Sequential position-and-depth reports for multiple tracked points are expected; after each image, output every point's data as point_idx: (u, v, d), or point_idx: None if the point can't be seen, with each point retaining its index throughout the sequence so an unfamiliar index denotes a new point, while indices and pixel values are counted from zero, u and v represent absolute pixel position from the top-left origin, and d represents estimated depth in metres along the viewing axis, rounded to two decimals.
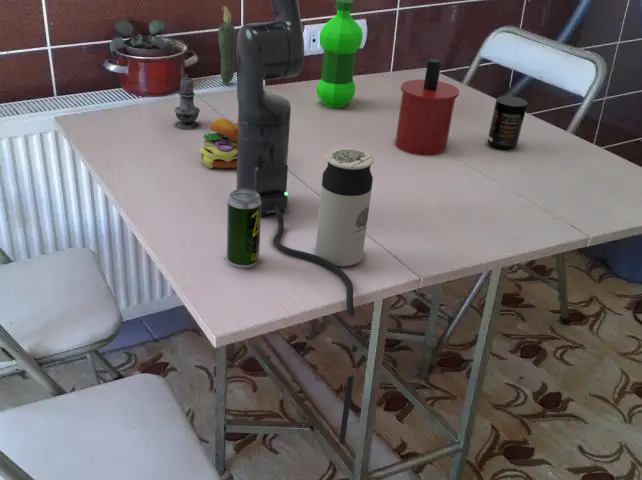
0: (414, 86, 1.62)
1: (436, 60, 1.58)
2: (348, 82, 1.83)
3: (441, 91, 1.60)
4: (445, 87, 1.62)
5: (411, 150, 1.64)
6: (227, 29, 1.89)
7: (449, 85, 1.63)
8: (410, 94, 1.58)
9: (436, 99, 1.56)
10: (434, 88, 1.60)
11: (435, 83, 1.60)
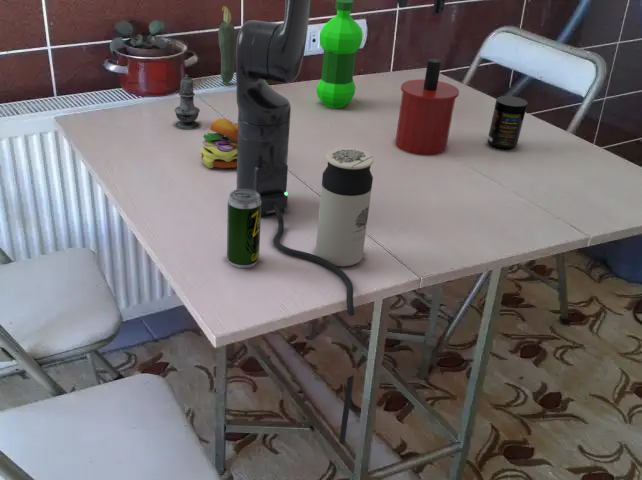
0: (414, 86, 1.62)
1: (436, 60, 1.58)
2: (348, 82, 1.83)
3: (441, 91, 1.60)
4: (445, 87, 1.62)
5: (411, 150, 1.64)
6: (227, 29, 1.89)
7: (449, 85, 1.63)
8: (410, 94, 1.58)
9: (436, 99, 1.56)
10: (434, 88, 1.60)
11: (435, 83, 1.60)
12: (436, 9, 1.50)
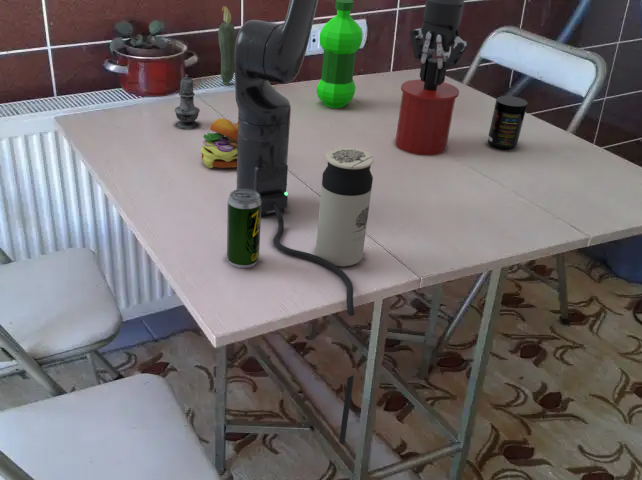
0: (414, 86, 1.62)
1: (436, 60, 1.58)
2: (348, 82, 1.83)
3: (441, 91, 1.60)
4: (445, 87, 1.62)
5: (411, 150, 1.64)
6: (227, 29, 1.89)
7: (449, 85, 1.63)
8: (410, 94, 1.58)
9: (436, 99, 1.56)
10: (434, 88, 1.60)
11: None
12: (437, 80, 1.58)
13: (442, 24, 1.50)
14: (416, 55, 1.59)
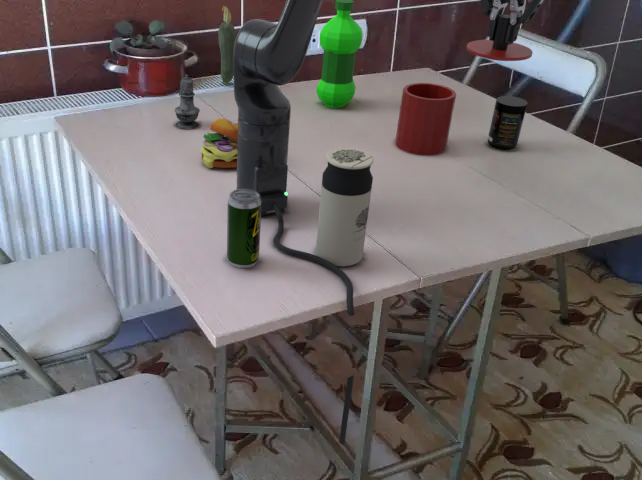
0: (481, 46, 1.45)
1: (508, 16, 1.41)
2: (348, 82, 1.83)
3: (513, 51, 1.43)
4: (515, 47, 1.45)
5: (411, 150, 1.64)
6: (227, 29, 1.89)
7: (519, 45, 1.47)
8: (479, 54, 1.41)
9: (509, 59, 1.40)
10: (505, 48, 1.43)
11: None
12: (509, 38, 1.41)
13: None
14: (485, 11, 1.43)
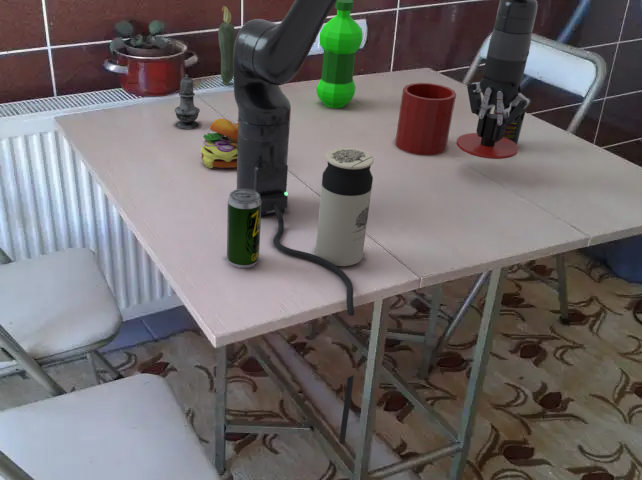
0: (470, 141, 1.55)
1: (495, 116, 1.51)
2: (348, 82, 1.83)
3: (500, 147, 1.52)
4: (503, 143, 1.55)
5: (411, 150, 1.64)
6: (227, 29, 1.89)
7: (507, 140, 1.56)
8: (468, 151, 1.51)
9: (496, 157, 1.49)
10: (492, 144, 1.53)
11: None
12: (496, 136, 1.51)
13: (504, 81, 1.43)
14: (473, 110, 1.52)
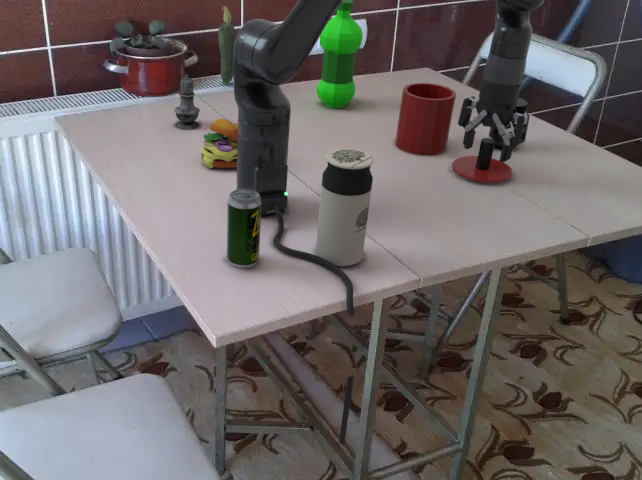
0: (466, 165, 1.57)
1: (490, 140, 1.53)
2: (348, 82, 1.83)
3: (494, 171, 1.55)
4: (497, 166, 1.57)
5: (411, 150, 1.64)
6: (227, 29, 1.89)
7: (501, 163, 1.59)
8: (463, 175, 1.54)
9: (490, 181, 1.52)
10: (487, 168, 1.55)
11: (488, 163, 1.55)
12: (503, 156, 1.51)
13: (500, 104, 1.45)
14: (460, 123, 1.55)
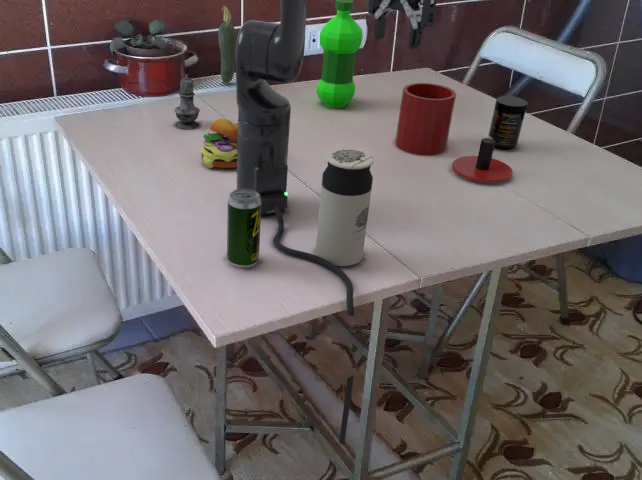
0: (466, 165, 1.57)
1: (490, 140, 1.53)
2: (348, 82, 1.83)
3: (494, 171, 1.55)
4: (497, 166, 1.57)
5: (411, 150, 1.64)
6: (227, 29, 1.89)
7: (501, 163, 1.59)
8: (463, 175, 1.54)
9: (490, 181, 1.52)
10: (487, 168, 1.55)
11: (488, 163, 1.55)
12: (412, 42, 1.42)
13: None
14: (369, 10, 1.46)
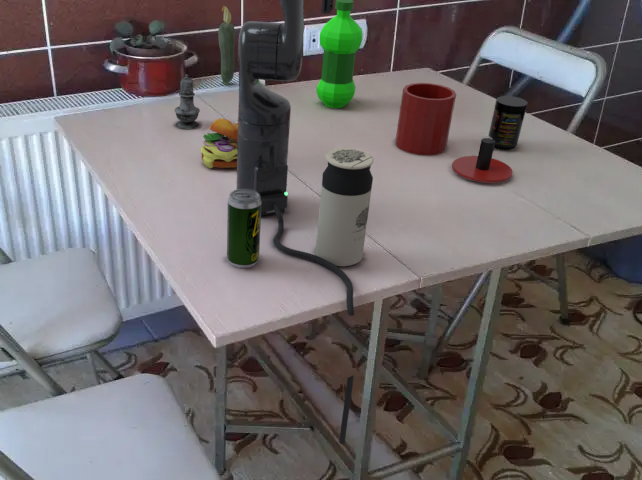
0: (466, 165, 1.57)
1: (490, 140, 1.53)
2: (348, 82, 1.83)
3: (494, 171, 1.55)
4: (497, 166, 1.57)
5: (411, 150, 1.64)
6: (227, 29, 1.89)
7: (501, 163, 1.59)
8: (463, 175, 1.54)
9: (490, 181, 1.52)
10: (487, 168, 1.55)
11: (488, 163, 1.55)
12: (324, 6, 1.42)
13: None
14: None
